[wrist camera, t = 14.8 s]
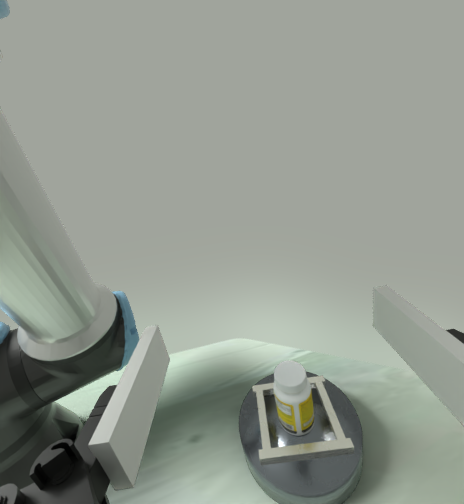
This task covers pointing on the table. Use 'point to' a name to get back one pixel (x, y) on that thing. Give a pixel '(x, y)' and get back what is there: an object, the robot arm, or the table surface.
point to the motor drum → (303, 446)
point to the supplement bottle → (293, 398)
